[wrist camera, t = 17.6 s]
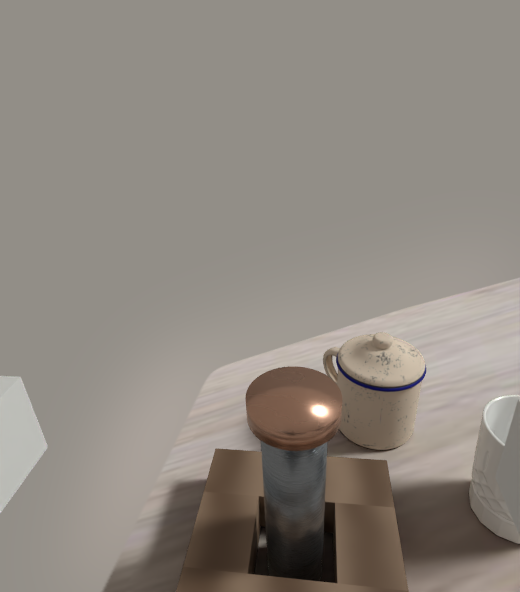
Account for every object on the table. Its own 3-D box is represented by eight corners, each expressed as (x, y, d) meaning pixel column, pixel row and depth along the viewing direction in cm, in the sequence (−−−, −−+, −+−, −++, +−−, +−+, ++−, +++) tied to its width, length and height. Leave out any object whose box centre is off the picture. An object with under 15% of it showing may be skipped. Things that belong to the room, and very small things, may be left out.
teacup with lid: (431, 423, 49) (448, 336, 43) (384, 468, 43) (396, 376, 38) (346, 375, 57) (351, 297, 51) (298, 408, 52) (298, 325, 46)
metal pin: (331, 535, 37) (340, 368, 29) (332, 612, 32) (344, 434, 24) (262, 529, 38) (252, 364, 30) (253, 602, 33) (238, 428, 25)
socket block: (382, 490, 41) (386, 460, 39) (414, 707, 27) (422, 677, 25) (219, 477, 43) (215, 448, 41) (170, 673, 29) (161, 643, 27)
